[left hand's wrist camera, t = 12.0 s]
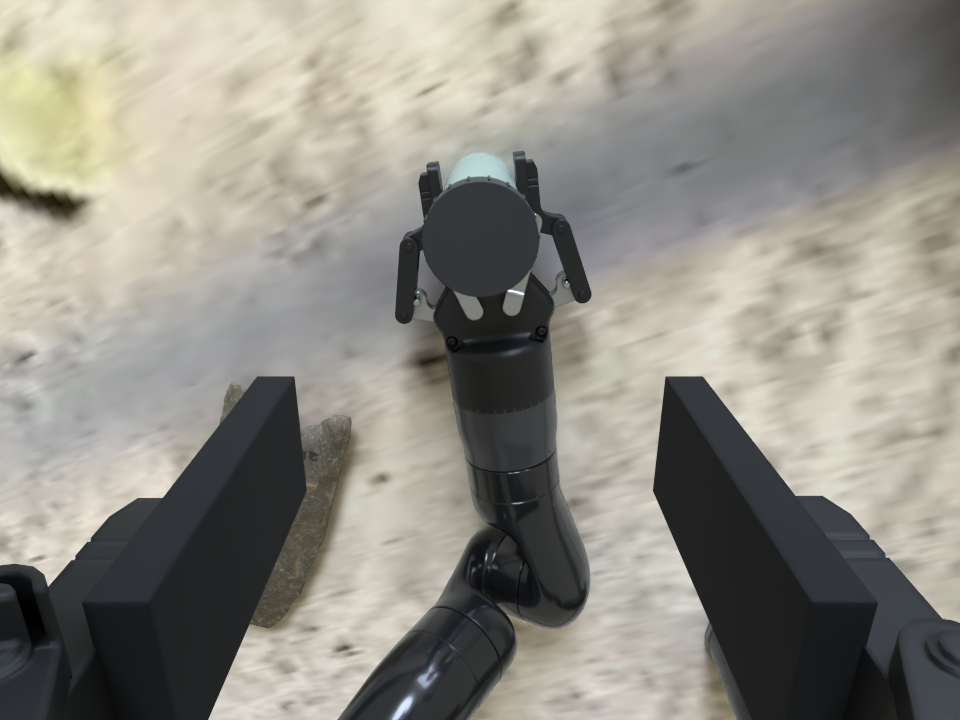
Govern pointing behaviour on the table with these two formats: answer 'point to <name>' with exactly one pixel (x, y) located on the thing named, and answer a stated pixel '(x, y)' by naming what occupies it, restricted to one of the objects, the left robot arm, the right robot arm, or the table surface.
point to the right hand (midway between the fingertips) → (475, 158)
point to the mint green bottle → (480, 168)
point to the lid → (480, 237)
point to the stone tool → (302, 511)
